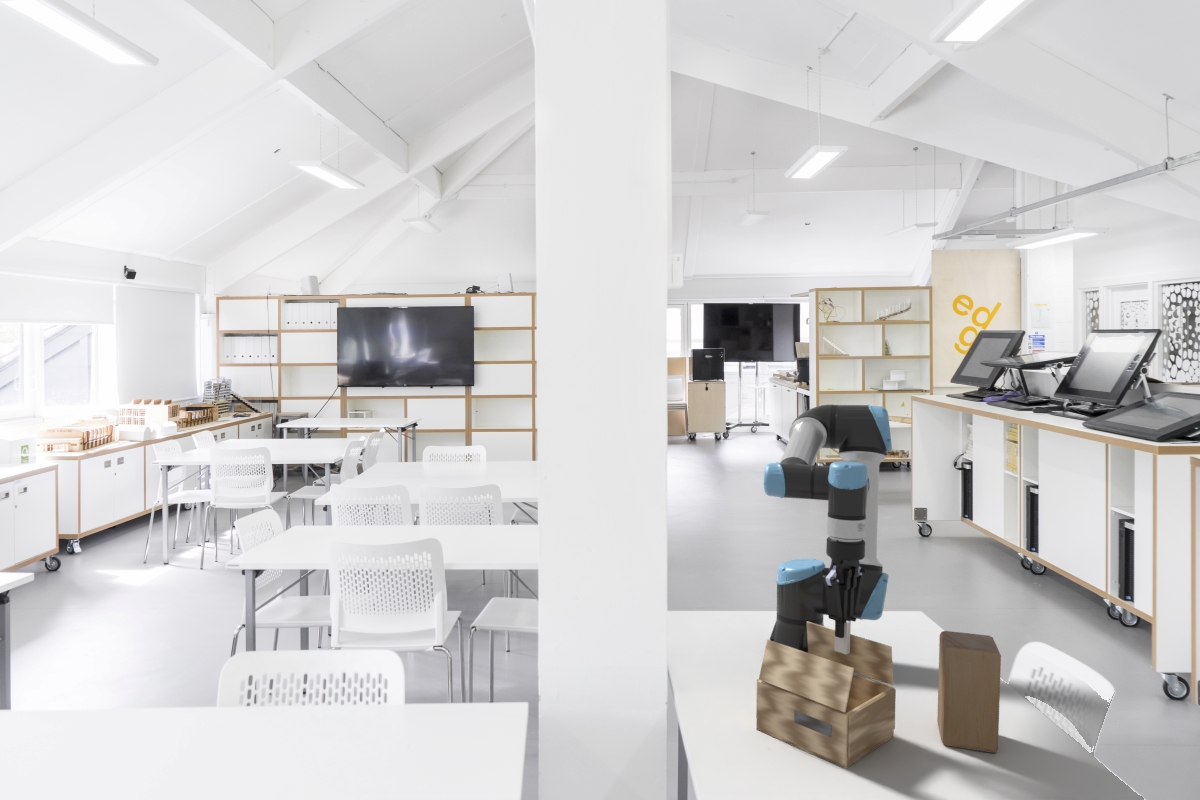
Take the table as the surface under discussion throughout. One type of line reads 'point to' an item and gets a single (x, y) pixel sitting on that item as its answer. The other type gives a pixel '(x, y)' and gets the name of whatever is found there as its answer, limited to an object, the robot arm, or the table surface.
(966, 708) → the wooden block
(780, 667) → the flap near
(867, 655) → the flap far
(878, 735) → the carton
